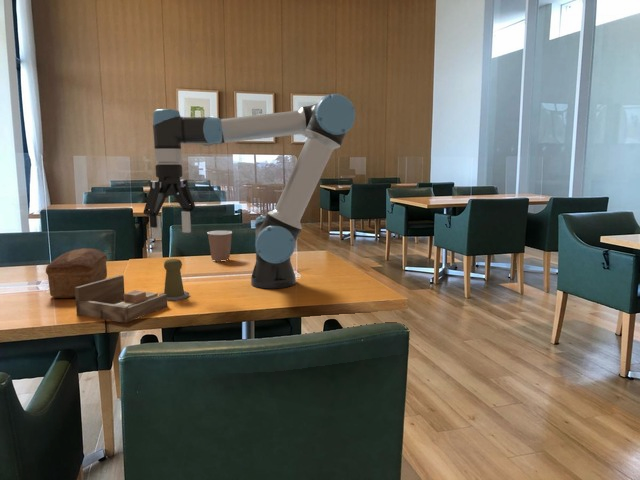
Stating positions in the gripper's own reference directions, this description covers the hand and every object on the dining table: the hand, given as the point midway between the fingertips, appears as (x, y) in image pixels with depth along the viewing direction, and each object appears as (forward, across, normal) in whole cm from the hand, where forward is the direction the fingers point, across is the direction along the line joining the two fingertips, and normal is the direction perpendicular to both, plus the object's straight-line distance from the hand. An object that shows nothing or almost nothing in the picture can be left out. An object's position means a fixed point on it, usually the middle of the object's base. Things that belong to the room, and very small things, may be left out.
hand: (172, 235), depth 145 cm
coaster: (+19, 0, 0) cm, 19 cm away
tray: (+19, +17, -4) cm, 26 cm away
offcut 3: (+19, +12, 0) cm, 23 cm away
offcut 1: (+19, +21, 0) cm, 29 cm away
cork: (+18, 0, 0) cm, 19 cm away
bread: (+19, +5, -34) cm, 39 cm away
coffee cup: (+19, -53, -19) cm, 59 cm away
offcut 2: (+19, +17, 0) cm, 25 cm away
